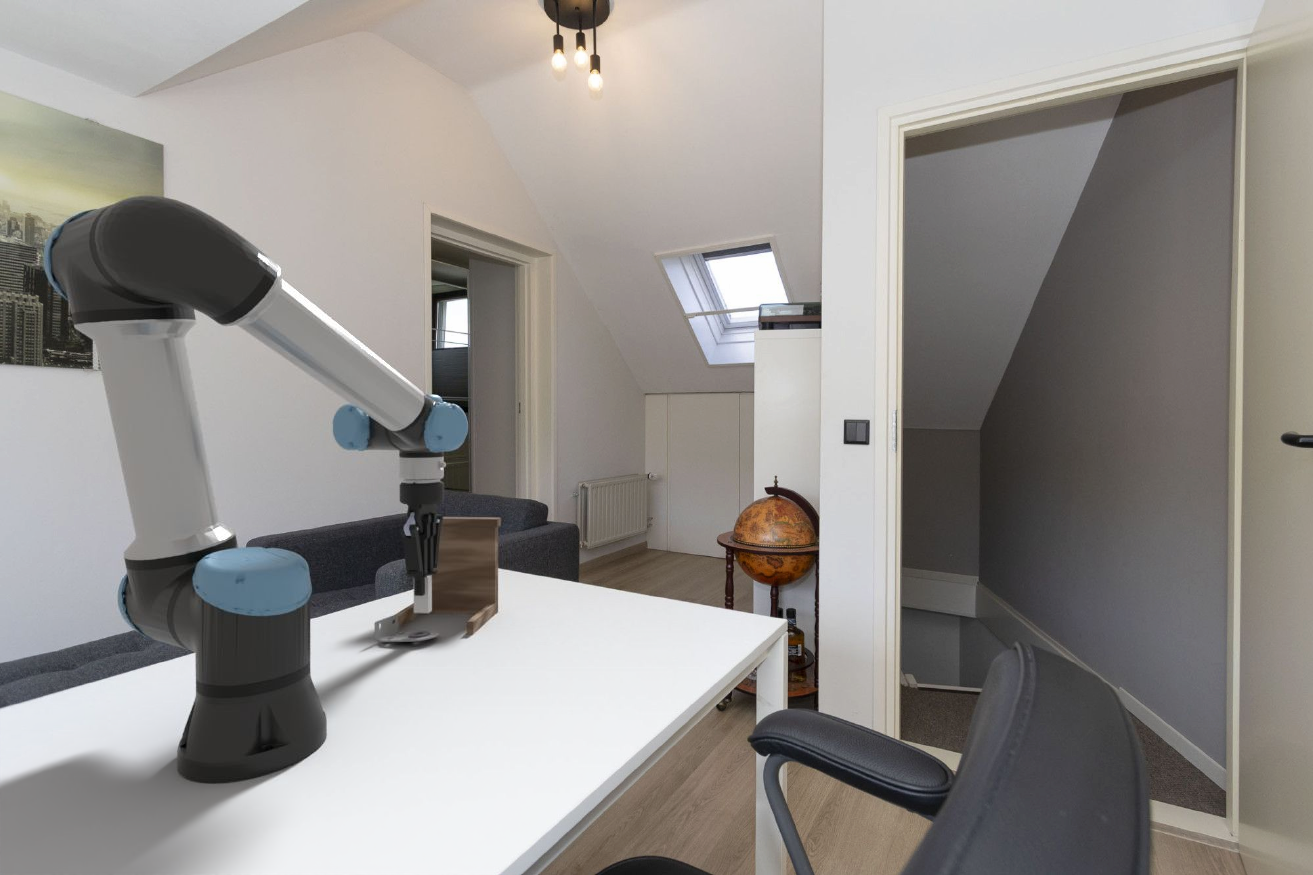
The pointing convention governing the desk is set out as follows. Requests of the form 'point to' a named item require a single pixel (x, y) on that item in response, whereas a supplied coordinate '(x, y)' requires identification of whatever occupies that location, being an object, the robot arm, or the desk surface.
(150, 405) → the robot arm
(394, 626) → the bracket
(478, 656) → the desk surface
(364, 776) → the desk surface
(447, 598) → the wooden l-shaped stand
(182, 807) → the desk surface
